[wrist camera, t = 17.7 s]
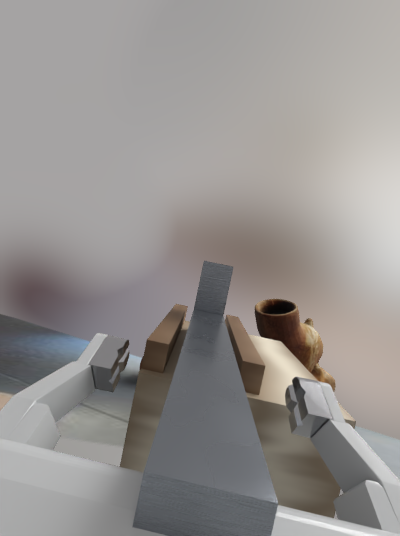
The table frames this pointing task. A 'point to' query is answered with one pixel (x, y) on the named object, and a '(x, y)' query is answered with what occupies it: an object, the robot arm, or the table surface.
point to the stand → (261, 404)
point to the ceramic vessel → (292, 334)
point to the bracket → (207, 437)
